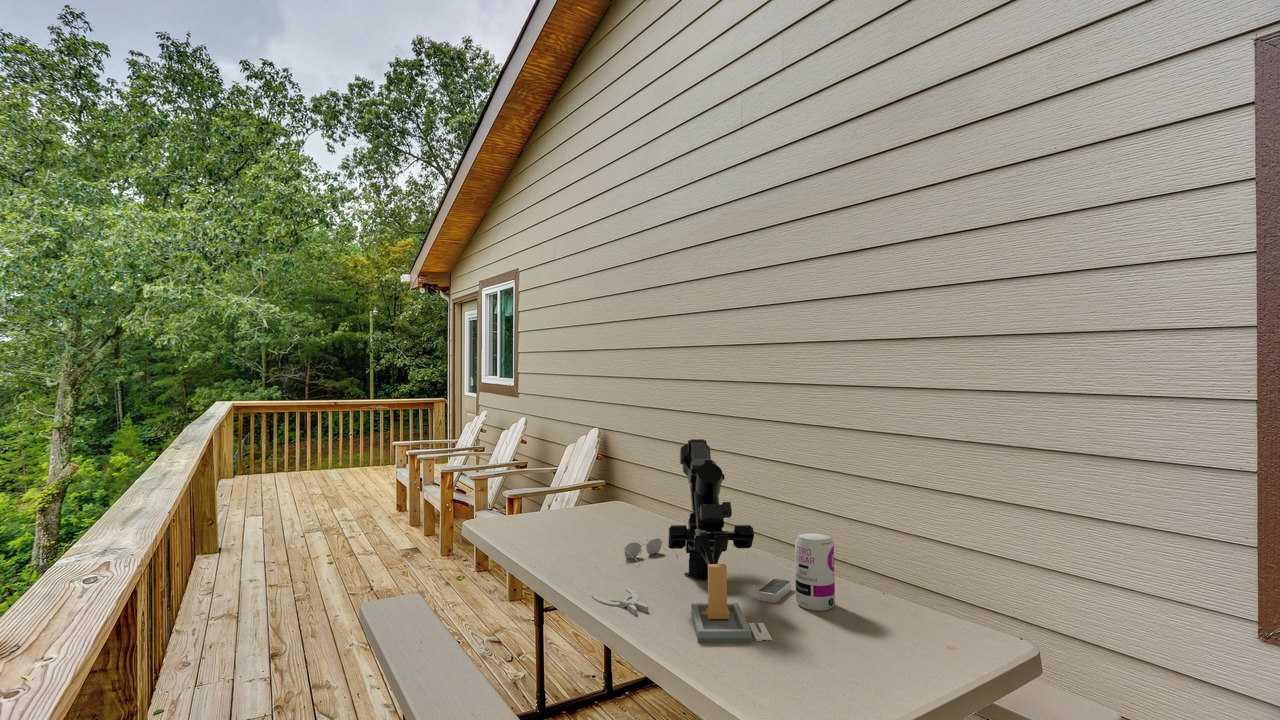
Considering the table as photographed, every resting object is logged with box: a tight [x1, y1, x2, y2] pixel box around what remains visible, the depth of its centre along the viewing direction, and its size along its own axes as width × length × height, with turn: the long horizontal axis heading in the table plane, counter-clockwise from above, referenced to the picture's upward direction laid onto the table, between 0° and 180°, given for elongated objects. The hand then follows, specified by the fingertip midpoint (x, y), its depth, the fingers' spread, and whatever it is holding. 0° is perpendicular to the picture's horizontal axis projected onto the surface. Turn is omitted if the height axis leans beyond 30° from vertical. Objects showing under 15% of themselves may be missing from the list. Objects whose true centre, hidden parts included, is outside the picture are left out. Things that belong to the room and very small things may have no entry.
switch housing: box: [690, 602, 773, 643], centre depth 122 cm, size 15×14×2 cm
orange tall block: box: [706, 563, 730, 619], centre depth 124 cm, size 3×4×10 cm
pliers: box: [591, 588, 649, 616], centre depth 135 cm, size 10×2×15 cm
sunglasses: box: [623, 537, 679, 567], centre depth 170 cm, size 14×8×5 cm, turn 125°
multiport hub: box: [756, 578, 792, 604], centre depth 141 cm, size 4×11×2 cm, turn 148°
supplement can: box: [794, 531, 836, 612], centre depth 134 cm, size 8×8×15 cm
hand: (714, 571), depth 130 cm, fingers closed
